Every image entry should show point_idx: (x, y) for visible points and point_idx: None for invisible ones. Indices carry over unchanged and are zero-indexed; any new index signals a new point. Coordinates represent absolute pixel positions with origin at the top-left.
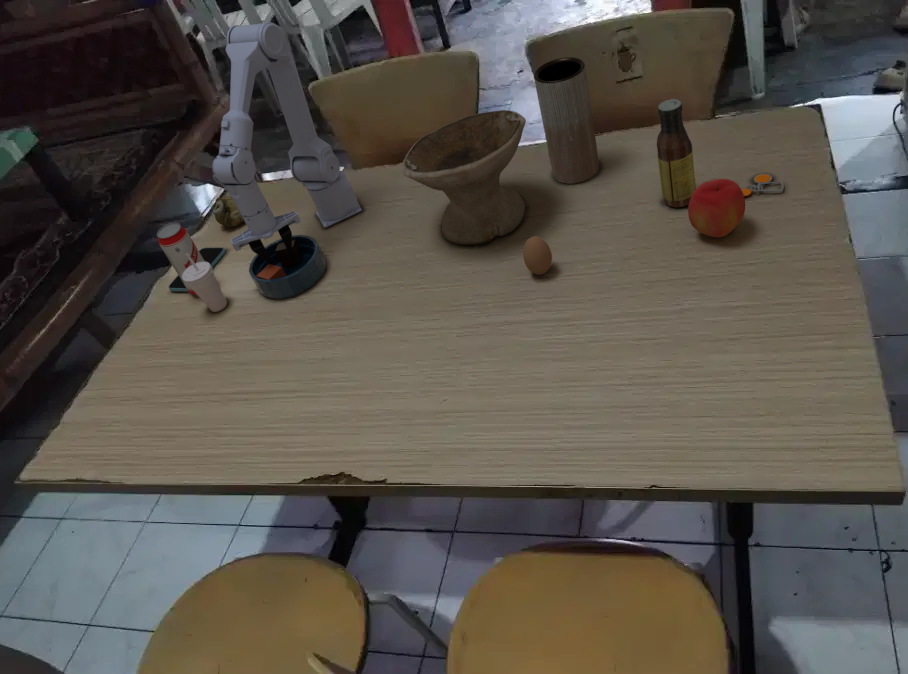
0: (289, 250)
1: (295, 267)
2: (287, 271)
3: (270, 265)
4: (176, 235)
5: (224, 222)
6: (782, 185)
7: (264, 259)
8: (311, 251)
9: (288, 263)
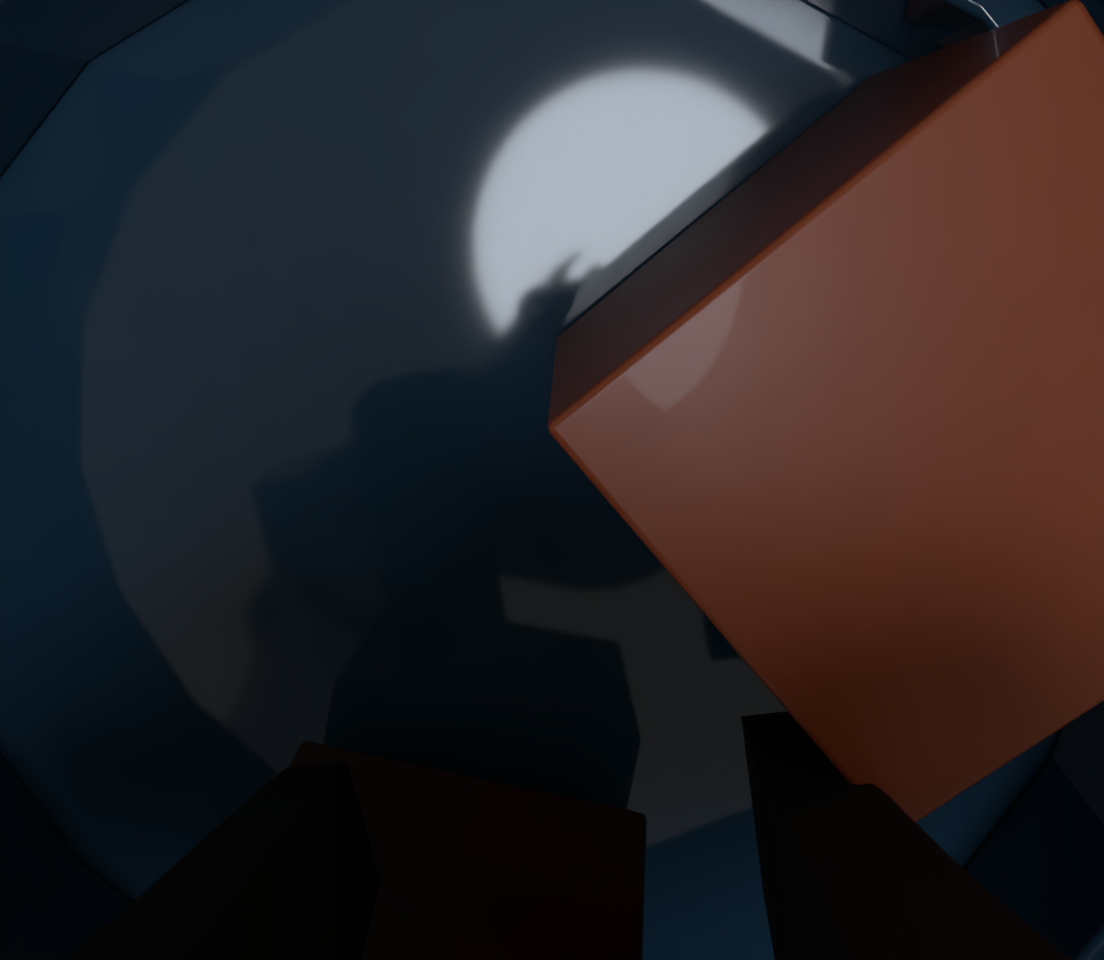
0: (146, 943)
1: (421, 718)
2: (578, 694)
3: (869, 724)
4: None
5: None
6: None
7: (1040, 937)
8: (58, 921)
9: (494, 817)
